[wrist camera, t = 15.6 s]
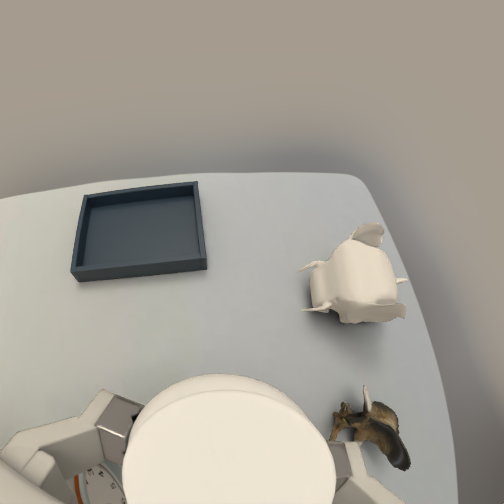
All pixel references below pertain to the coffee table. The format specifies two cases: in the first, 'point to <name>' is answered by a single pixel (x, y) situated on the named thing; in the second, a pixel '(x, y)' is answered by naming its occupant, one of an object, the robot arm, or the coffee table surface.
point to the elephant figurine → (357, 280)
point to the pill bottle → (226, 447)
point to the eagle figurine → (374, 429)
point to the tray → (139, 233)
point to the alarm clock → (98, 485)
